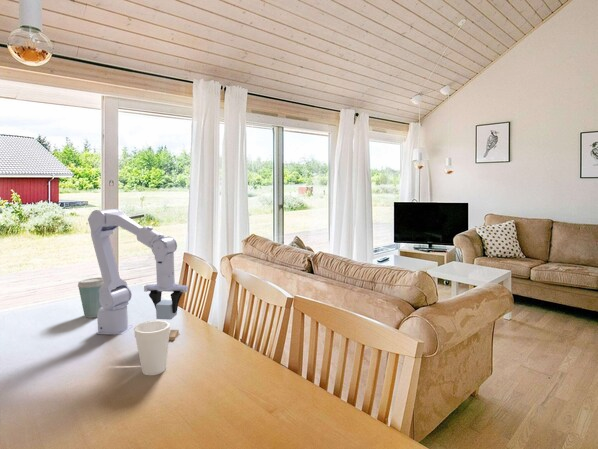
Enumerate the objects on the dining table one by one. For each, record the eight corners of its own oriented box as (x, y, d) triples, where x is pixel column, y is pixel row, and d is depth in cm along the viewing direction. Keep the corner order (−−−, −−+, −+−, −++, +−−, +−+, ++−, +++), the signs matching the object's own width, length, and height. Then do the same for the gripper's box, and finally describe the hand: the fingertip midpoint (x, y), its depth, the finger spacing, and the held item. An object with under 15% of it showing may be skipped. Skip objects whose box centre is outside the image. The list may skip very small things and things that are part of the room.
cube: (156, 319, 130) (155, 304, 129) (163, 313, 135) (162, 300, 134) (170, 319, 129) (170, 305, 129) (176, 314, 134) (176, 300, 134)
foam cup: (178, 366, 113) (176, 323, 112) (154, 381, 105) (152, 335, 104) (154, 359, 117) (152, 318, 116) (129, 373, 109) (127, 329, 107)
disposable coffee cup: (72, 318, 152) (70, 280, 150) (94, 309, 162) (92, 274, 161) (94, 321, 149) (92, 283, 147) (115, 312, 159) (113, 276, 158)
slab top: (156, 340, 130) (156, 337, 130) (161, 333, 136) (161, 329, 136) (174, 340, 131) (174, 336, 130) (178, 333, 137) (178, 329, 136)
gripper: (139, 275, 127) (140, 315, 129) (181, 276, 126) (183, 316, 128) (148, 270, 134) (150, 308, 136) (189, 271, 133) (190, 309, 135)
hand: (166, 312), depth 132 cm, fingers closed on cube, 5 cm apart
